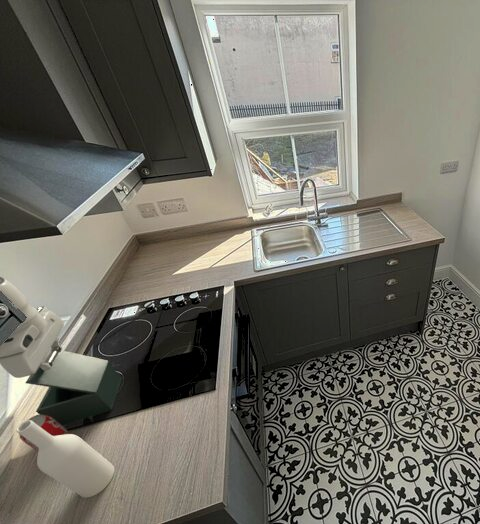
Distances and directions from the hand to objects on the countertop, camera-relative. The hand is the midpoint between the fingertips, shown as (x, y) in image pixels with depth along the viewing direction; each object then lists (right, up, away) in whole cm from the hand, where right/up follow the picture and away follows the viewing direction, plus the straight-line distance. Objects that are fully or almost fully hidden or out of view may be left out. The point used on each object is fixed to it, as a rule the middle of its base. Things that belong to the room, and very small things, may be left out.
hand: (53, 359), depth 87 cm
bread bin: (0, -19, +13) cm, 23 cm away
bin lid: (+1, -5, +4) cm, 7 cm away
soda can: (0, -26, +2) cm, 27 cm away
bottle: (+19, -31, -7) cm, 37 cm away
